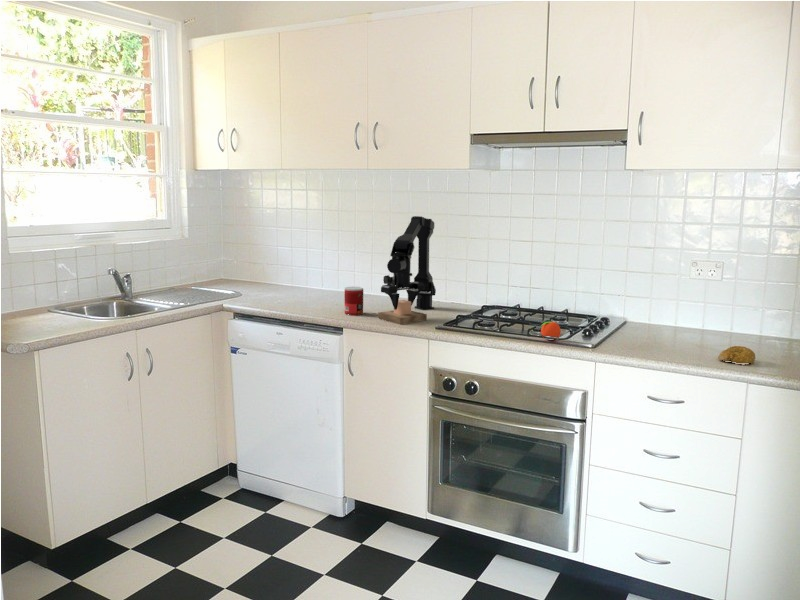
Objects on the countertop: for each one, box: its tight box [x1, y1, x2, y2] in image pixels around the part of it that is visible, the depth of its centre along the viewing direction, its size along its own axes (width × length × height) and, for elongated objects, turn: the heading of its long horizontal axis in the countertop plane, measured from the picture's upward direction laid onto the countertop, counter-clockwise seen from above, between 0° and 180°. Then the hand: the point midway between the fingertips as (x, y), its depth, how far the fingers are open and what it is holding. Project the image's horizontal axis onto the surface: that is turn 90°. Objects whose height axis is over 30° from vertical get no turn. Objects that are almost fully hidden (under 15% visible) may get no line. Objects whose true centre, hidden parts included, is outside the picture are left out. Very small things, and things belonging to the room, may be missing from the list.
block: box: [393, 299, 412, 315], centre depth 272 cm, size 5×5×5 cm
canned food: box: [344, 286, 364, 316], centre depth 282 cm, size 8×8×11 cm
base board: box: [377, 309, 428, 325], centre depth 272 cm, size 14×14×2 cm
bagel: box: [717, 345, 756, 364], centre depth 216 cm, size 10×11×5 cm
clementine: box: [539, 320, 562, 338], centre depth 240 cm, size 8×7×7 cm
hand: (402, 308), depth 272 cm, fingers open, 7 cm apart
